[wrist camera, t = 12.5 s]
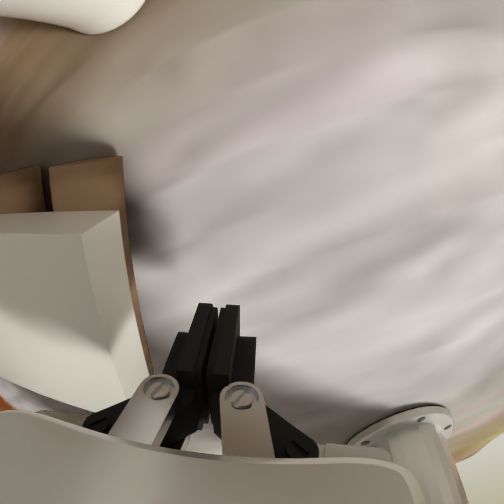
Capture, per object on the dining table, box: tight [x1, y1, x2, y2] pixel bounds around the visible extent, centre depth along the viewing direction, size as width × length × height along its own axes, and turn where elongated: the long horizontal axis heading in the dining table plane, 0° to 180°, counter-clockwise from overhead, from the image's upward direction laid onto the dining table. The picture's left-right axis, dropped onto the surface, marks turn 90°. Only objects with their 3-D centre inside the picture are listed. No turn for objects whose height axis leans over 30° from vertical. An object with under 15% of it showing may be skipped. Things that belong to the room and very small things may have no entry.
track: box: [0, 156, 154, 376], centre depth 16 cm, size 14×23×4 cm, turn 89°
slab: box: [0, 210, 149, 413], centre depth 12 cm, size 10×14×3 cm
